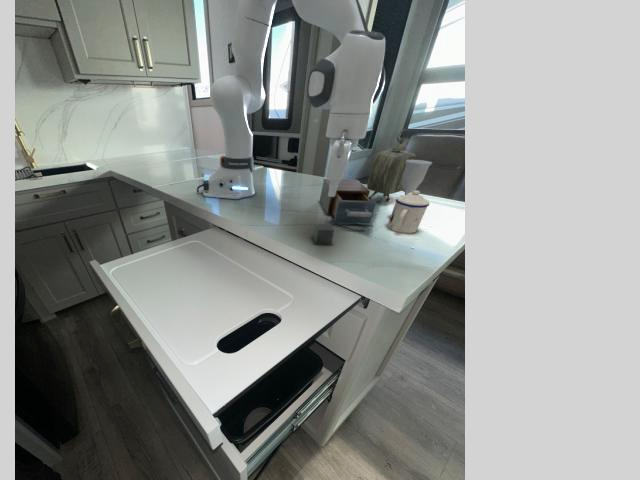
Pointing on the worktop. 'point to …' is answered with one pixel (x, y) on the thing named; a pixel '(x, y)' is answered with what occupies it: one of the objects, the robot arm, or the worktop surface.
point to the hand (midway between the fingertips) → (333, 191)
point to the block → (323, 234)
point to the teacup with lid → (408, 212)
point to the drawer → (352, 208)
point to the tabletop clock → (389, 169)
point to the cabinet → (340, 191)
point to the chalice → (414, 174)
